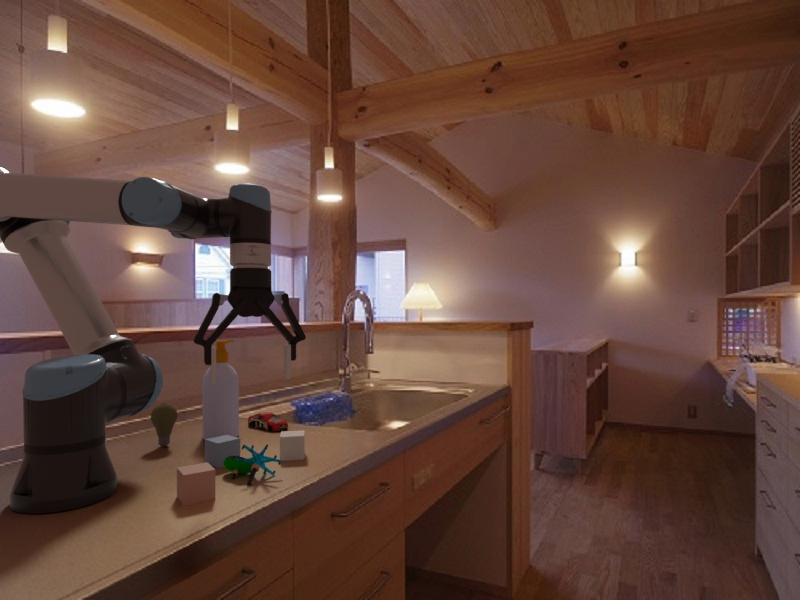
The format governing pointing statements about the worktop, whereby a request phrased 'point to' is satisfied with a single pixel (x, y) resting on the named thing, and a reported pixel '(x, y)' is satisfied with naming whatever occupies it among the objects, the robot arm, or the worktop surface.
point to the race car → (267, 422)
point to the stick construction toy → (249, 463)
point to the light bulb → (164, 422)
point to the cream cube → (292, 445)
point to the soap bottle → (221, 397)
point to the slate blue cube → (221, 449)
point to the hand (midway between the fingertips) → (251, 380)
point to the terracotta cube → (195, 483)
